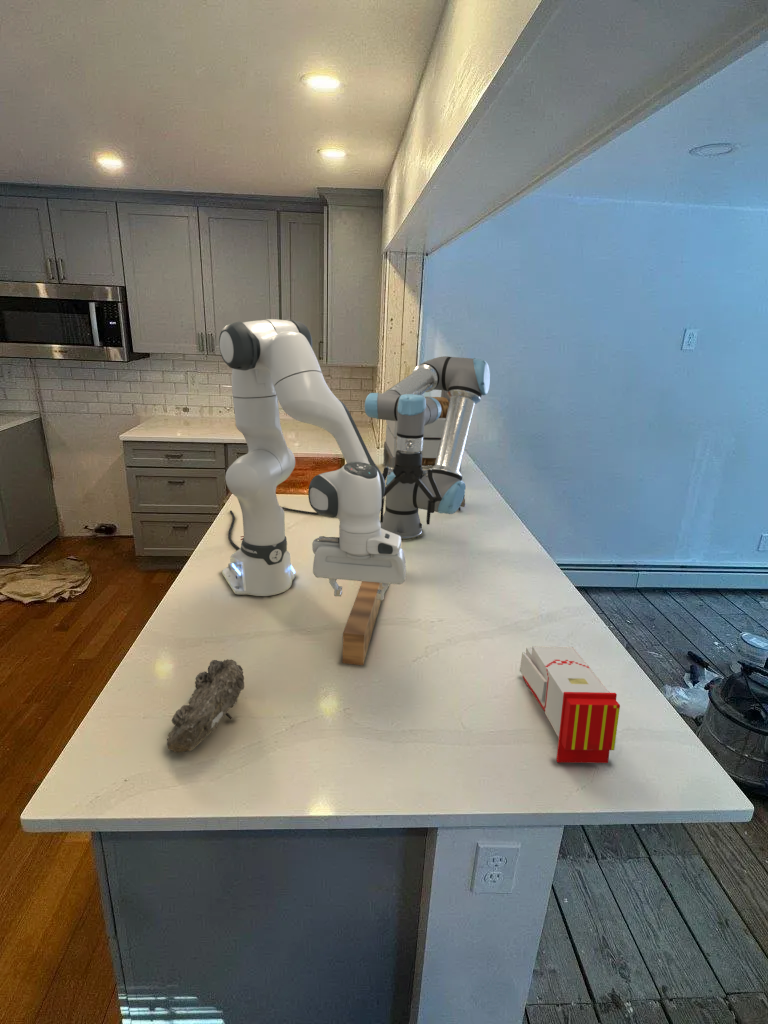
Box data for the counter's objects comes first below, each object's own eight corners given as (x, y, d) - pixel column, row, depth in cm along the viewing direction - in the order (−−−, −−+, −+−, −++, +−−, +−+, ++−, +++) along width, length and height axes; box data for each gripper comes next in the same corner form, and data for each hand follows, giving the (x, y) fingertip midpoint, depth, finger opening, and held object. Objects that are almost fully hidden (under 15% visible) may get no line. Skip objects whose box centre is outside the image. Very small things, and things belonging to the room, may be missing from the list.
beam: (376, 563, 176) (376, 540, 173) (391, 565, 175) (392, 542, 173) (342, 663, 126) (342, 632, 124) (363, 665, 126) (364, 635, 123)
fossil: (192, 660, 117) (244, 628, 112) (224, 691, 120) (276, 661, 115) (142, 746, 98) (202, 712, 93) (182, 779, 101) (242, 748, 96)
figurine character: (465, 515, 224) (460, 499, 237) (467, 498, 221) (462, 483, 234) (448, 515, 224) (444, 499, 237) (450, 498, 220) (445, 482, 234)
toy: (568, 628, 125) (630, 701, 96) (562, 684, 128) (620, 770, 99) (514, 627, 125) (559, 699, 96) (509, 683, 128) (551, 770, 98)
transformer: (382, 463, 289) (386, 382, 275) (445, 464, 293) (451, 384, 279) (390, 482, 257) (394, 392, 243) (460, 483, 261) (468, 394, 247)
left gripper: (308, 541, 119) (309, 599, 124) (405, 548, 117) (403, 607, 121) (315, 530, 125) (316, 586, 130) (408, 537, 123) (405, 594, 127)
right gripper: (364, 452, 155) (361, 524, 162) (455, 456, 155) (448, 528, 162) (365, 445, 162) (362, 515, 169) (452, 450, 162) (446, 519, 169)
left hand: (359, 596), depth 125 cm, fingers open, 8 cm apart
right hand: (404, 522), depth 166 cm, fingers open, 13 cm apart
